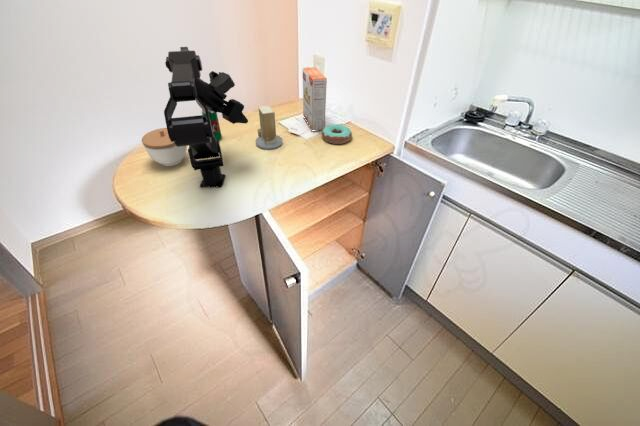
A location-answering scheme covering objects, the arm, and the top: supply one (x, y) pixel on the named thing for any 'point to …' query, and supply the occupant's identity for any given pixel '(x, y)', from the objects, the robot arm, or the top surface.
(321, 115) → the cracker box
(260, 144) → the flange disc
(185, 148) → the lidded bowl
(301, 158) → the top surface
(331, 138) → the donut
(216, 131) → the soda can
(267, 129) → the skincare box
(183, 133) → the robot arm
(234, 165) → the top surface
